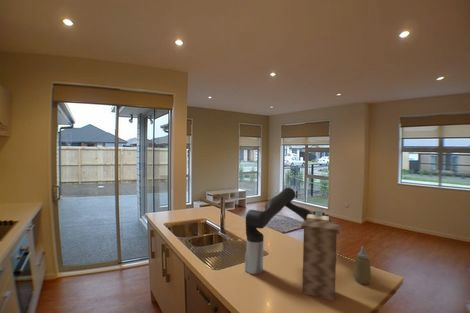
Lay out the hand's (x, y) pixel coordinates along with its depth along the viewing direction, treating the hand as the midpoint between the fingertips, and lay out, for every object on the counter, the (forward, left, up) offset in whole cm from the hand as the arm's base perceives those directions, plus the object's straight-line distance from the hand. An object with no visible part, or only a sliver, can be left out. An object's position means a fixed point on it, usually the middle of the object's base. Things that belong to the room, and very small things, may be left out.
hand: (318, 213), depth 136 cm
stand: (+2, -25, -31) cm, 40 cm away
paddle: (0, -4, -3) cm, 5 cm away
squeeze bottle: (+22, -6, -31) cm, 39 cm away
